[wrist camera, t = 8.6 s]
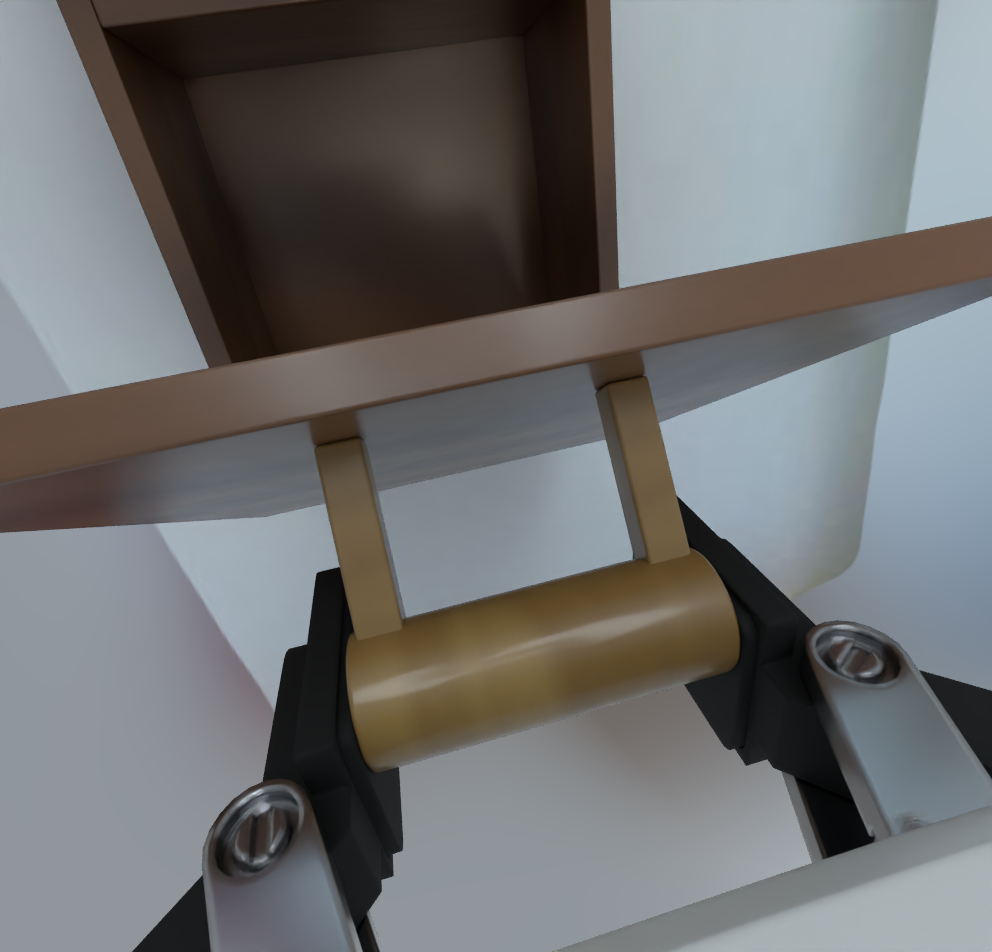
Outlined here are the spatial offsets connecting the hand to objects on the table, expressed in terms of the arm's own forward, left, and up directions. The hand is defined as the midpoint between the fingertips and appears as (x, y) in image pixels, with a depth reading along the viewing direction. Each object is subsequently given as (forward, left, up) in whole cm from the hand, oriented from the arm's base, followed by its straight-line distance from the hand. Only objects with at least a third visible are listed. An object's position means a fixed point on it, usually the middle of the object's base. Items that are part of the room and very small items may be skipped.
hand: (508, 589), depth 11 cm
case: (-4, -3, -23) cm, 23 cm away
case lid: (-1, -1, -6) cm, 6 cm away
